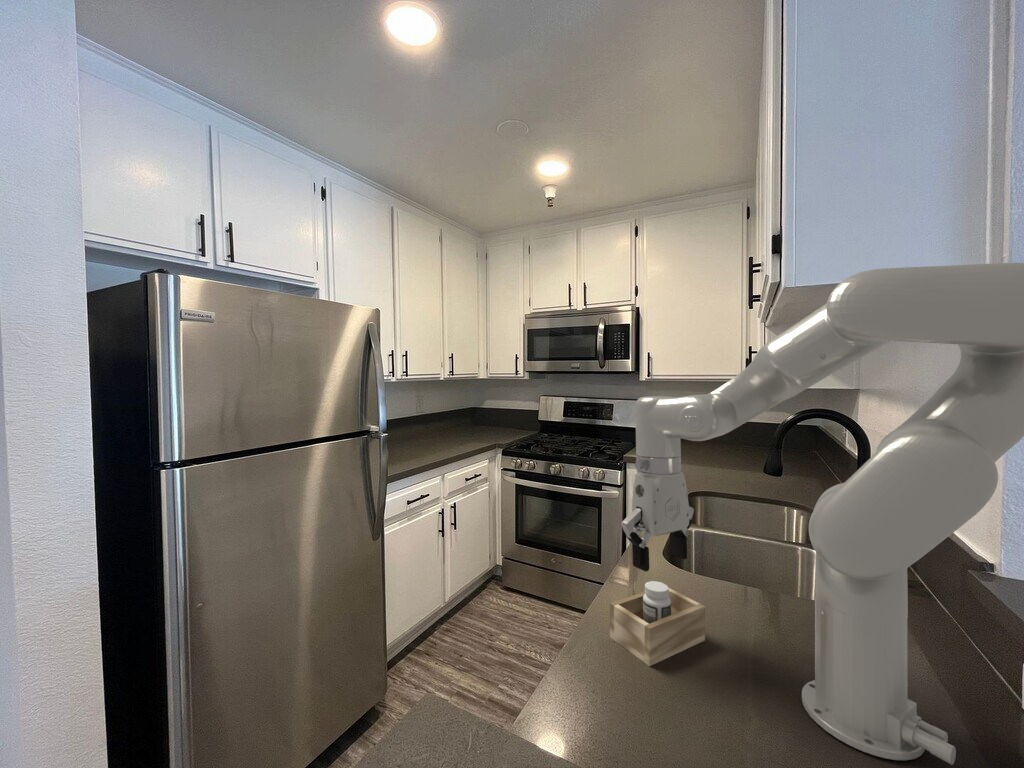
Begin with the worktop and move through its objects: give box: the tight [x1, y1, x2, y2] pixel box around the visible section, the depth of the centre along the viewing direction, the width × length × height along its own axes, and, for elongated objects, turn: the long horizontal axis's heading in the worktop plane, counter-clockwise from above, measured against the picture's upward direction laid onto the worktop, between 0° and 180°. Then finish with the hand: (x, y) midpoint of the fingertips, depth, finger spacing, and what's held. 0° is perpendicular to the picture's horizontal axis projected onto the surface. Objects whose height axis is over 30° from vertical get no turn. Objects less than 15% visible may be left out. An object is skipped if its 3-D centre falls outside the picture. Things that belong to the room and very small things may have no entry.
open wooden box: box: [609, 587, 706, 667], centre depth 74 cm, size 9×14×6 cm, turn 120°
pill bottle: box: [643, 580, 671, 624], centre depth 74 cm, size 5×5×8 cm
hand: (660, 562), depth 74 cm, fingers open, 9 cm apart
